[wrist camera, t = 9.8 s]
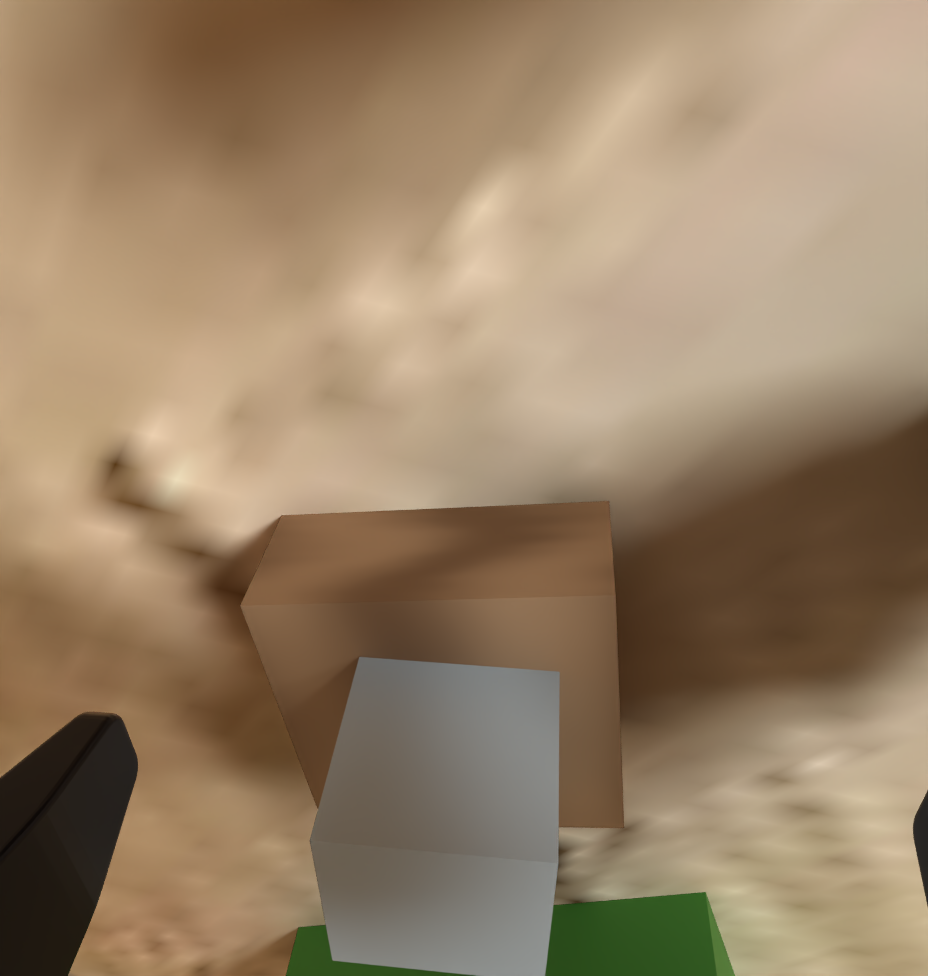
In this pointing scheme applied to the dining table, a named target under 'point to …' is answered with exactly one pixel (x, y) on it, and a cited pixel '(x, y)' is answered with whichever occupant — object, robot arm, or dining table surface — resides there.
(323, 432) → the dining table surface
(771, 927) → the dining table surface
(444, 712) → the slate cube
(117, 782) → the robot arm
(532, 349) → the dining table surface
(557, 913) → the hardback book
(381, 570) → the walnut block
